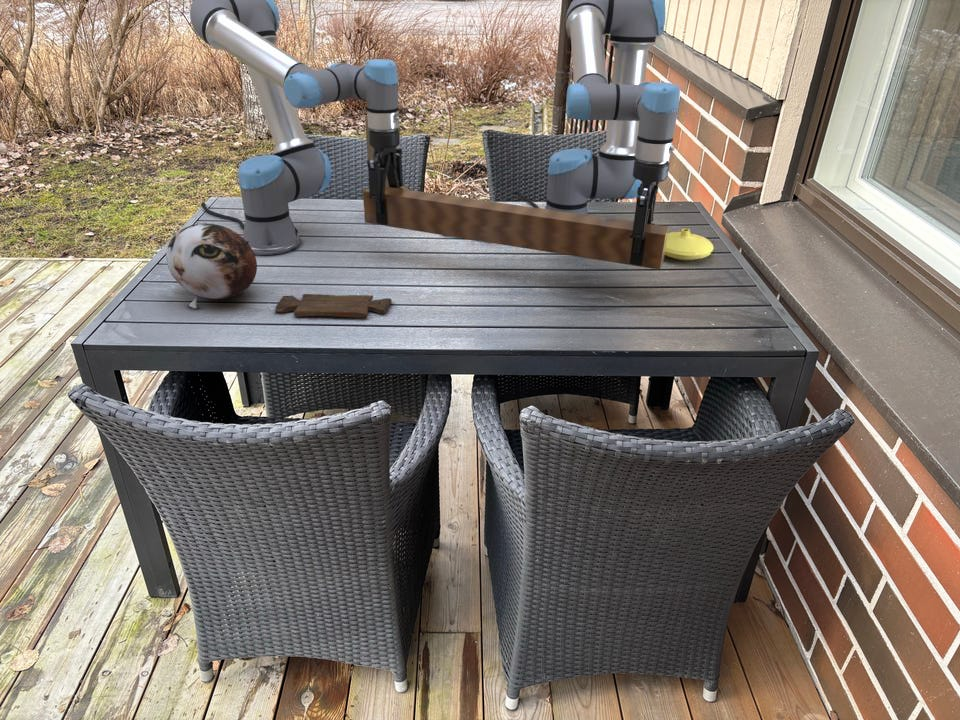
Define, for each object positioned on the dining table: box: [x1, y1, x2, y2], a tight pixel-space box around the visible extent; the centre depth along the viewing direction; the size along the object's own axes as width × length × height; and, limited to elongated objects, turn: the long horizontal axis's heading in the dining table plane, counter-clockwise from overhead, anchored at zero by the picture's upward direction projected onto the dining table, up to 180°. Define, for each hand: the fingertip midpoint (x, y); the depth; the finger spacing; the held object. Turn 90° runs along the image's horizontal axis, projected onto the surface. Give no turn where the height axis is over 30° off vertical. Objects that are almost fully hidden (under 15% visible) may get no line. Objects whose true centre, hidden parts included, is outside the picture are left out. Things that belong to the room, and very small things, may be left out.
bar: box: [362, 187, 670, 270], centre depth 174 cm, size 76×6×8 cm, turn 69°
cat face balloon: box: [165, 222, 258, 309], centre depth 165 cm, size 22×18×20 cm
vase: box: [664, 228, 715, 261], centre depth 193 cm, size 16×16×7 cm
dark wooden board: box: [275, 293, 392, 318], centre depth 164 cm, size 26×2×10 cm
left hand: (388, 219), depth 186 cm, fingers closed on bar, 6 cm apart
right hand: (638, 259), depth 166 cm, fingers closed on bar, 6 cm apart
